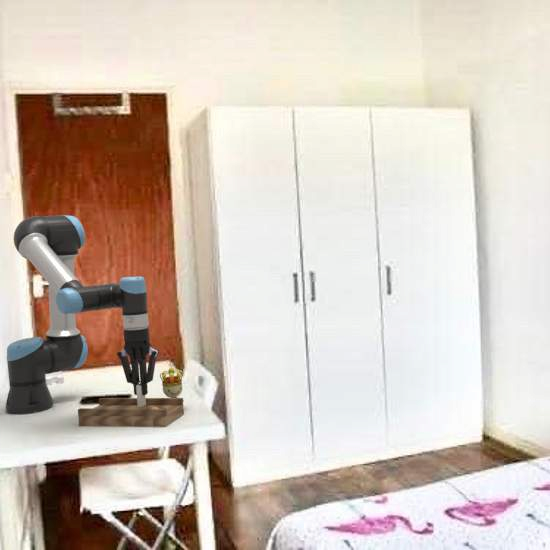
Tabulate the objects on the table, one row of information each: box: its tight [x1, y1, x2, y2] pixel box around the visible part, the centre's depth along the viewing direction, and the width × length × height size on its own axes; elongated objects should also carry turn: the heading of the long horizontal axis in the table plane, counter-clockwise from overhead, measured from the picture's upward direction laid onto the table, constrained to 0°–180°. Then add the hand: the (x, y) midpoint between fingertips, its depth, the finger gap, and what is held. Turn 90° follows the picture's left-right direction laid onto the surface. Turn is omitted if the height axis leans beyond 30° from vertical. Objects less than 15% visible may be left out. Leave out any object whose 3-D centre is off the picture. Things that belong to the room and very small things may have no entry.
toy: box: [159, 362, 184, 403], centre depth 219 cm, size 7×7×15 cm
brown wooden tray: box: [77, 397, 185, 428], centre depth 210 cm, size 28×14×5 cm, turn 76°
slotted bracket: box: [45, 371, 65, 386], centre depth 278 cm, size 13×7×8 cm, turn 24°
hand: (141, 405), depth 209 cm, fingers closed
